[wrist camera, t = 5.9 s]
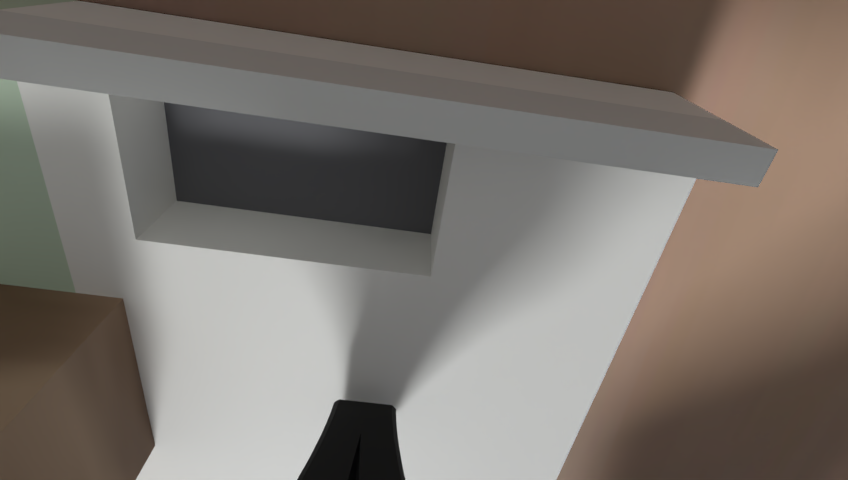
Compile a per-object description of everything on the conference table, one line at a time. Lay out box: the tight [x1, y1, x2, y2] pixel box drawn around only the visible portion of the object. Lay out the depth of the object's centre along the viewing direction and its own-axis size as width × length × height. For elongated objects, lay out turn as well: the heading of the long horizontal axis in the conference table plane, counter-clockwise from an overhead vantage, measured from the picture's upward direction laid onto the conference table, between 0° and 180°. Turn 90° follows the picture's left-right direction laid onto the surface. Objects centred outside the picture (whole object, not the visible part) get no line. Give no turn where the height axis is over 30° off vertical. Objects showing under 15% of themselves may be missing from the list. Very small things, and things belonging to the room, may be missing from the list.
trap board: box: [0, 0, 778, 480], centre depth 12 cm, size 20×16×4 cm
